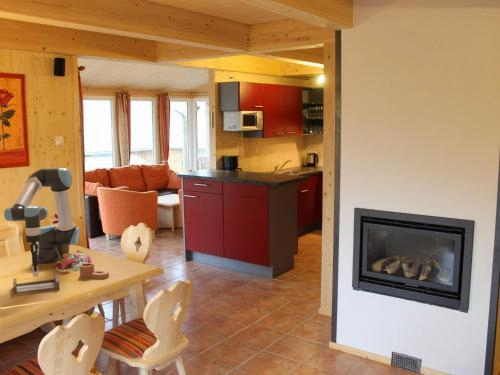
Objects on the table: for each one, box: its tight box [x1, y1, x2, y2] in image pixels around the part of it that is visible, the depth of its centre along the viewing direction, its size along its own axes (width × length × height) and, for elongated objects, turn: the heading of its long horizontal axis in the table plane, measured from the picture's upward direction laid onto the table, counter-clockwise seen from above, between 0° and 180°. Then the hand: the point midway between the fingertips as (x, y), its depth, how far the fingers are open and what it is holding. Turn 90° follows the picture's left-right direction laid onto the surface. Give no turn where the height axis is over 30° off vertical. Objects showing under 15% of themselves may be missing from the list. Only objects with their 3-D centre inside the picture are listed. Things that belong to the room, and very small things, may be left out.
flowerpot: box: [52, 213, 70, 257], centre depth 346 cm, size 14×14×30 cm
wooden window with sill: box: [12, 273, 60, 297], centre depth 277 cm, size 17×23×4 cm
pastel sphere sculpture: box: [53, 249, 93, 273], centre depth 320 cm, size 25×24×9 cm
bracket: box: [79, 262, 110, 280], centre depth 299 cm, size 18×8×7 cm, turn 76°
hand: (35, 275), depth 277 cm, fingers open, 5 cm apart
